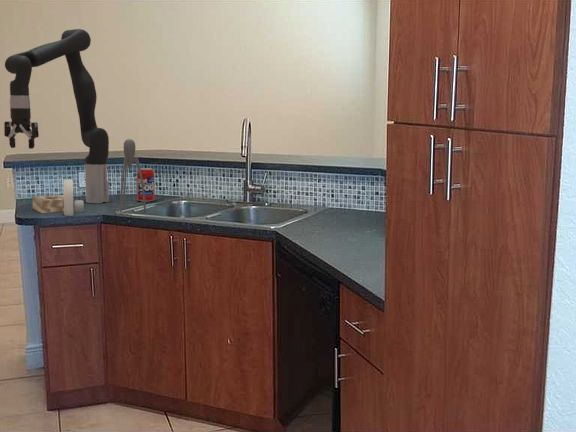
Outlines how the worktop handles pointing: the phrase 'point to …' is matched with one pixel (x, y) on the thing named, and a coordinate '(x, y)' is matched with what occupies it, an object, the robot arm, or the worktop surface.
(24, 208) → the worktop surface
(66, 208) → the tall ivory dowel
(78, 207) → the short grey dowel
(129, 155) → the citrus juicer
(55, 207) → the birch socket block
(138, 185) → the soda can
